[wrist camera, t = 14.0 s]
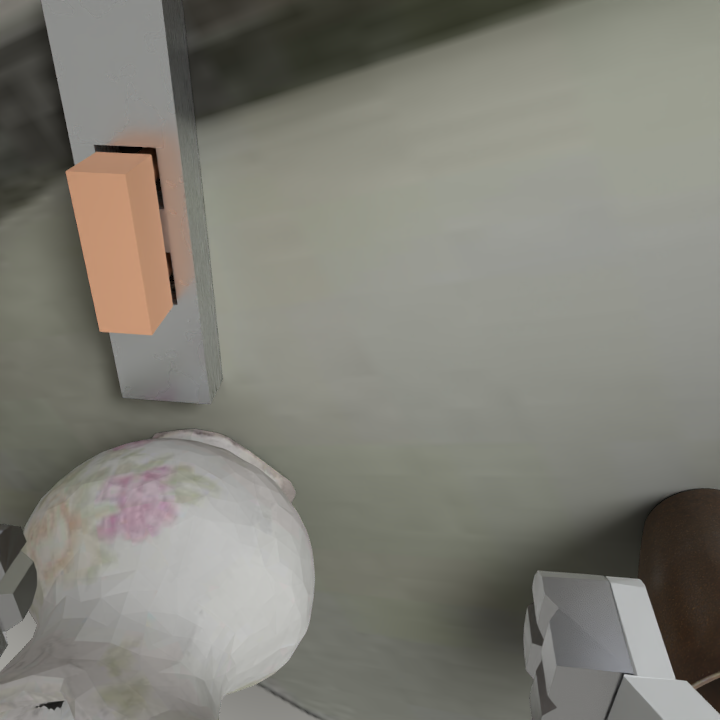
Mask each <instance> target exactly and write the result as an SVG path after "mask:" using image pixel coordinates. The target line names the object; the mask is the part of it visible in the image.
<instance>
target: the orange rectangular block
mask: <svg viewBox="0 0 720 720" xmlns="http://www.w3.org/2000/svg"><path fill="white" fill-rule="evenodd" d="M66 176H67V180H68V185H69V190H70V194H71V199H72V204H73V208H74V213H75V218H76V222H77V227H78V232H79V237H80V241H81V246H82V251H83V255H84V260H85V265H86V269H87V274H88V279H89V283H90V288H91V293H92V298H93V302H94V307H95V312H96V316H97V321H98V326H99V330H100V332H110V333H125V334H139V335H153V333H154V332H155V331H156V329H157V328H158V327H159V325H160V324H161V322H162V321H163V320H164V318H165V317H166V315H167V314H168V313H169V311H170V310H171V308H172V307H173V302H172V295H171V288H170V281H169V277H170V275H171V274H172V273H173V268H172V261H171V254H170V253H167V252H165V246H164V240H163V233H162V226H161V219H160V212H159V205H158V198H157V191H156V184H155V181H156V180H158V179H159V178H160V175H159V168H158V161H157V154H156V149H155V148H152V147H146V148H143V149H141V150H140V151H138V152H137V153H136V154H130V153H109V152H95V153H94V154H92V155H91V156H89V157H87V158H86V159H84V160H83V161H81V162H79V163H78V164H76V165H75V166H73V167H72V168H70V169H68V170H67V171H66Z"/></svg>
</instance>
